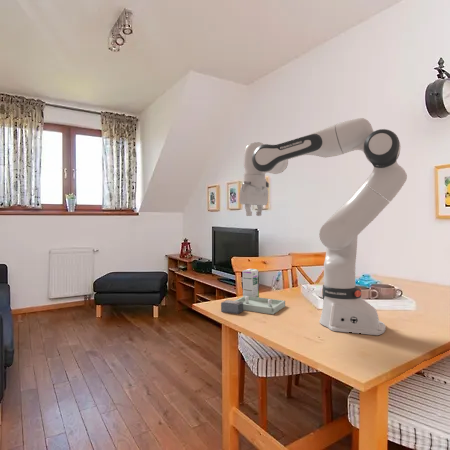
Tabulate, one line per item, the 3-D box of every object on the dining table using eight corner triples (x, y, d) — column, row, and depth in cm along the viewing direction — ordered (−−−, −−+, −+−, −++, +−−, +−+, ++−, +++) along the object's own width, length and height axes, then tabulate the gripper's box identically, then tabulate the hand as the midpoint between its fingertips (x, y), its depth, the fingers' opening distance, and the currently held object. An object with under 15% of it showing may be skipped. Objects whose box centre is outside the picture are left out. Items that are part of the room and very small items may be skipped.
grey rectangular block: (243, 311, 140) (243, 301, 140) (238, 314, 136) (237, 304, 135) (226, 309, 144) (226, 299, 144) (221, 312, 139) (221, 302, 139)
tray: (285, 306, 146) (285, 297, 146) (273, 314, 134) (273, 304, 134) (245, 300, 157) (245, 292, 157) (230, 308, 145) (230, 299, 145)
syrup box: (252, 301, 156) (252, 271, 155) (242, 299, 159) (242, 269, 159) (259, 298, 160) (258, 269, 160) (248, 297, 164) (248, 268, 163)
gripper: (249, 180, 126) (249, 216, 127) (270, 184, 144) (270, 215, 144) (235, 180, 130) (235, 215, 130) (257, 184, 147) (257, 215, 148)
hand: (254, 215), depth 137 cm, fingers open, 8 cm apart
